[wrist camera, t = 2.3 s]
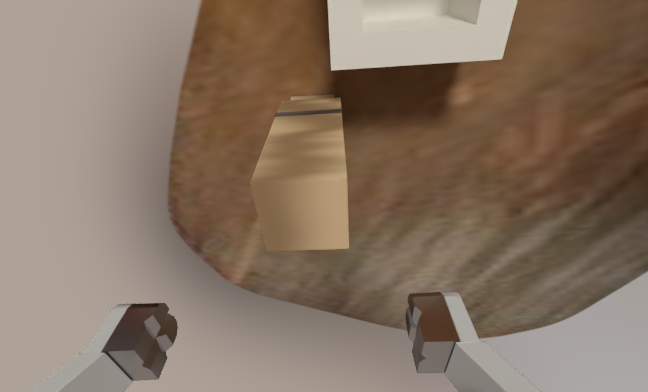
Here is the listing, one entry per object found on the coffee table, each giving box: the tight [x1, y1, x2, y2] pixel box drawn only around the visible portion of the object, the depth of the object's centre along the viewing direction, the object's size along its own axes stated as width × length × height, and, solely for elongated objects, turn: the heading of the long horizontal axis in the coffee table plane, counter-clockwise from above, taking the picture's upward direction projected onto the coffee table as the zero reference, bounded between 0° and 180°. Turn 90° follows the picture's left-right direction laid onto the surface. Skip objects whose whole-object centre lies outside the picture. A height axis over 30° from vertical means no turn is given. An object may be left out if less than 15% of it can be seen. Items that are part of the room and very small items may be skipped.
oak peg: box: [250, 94, 349, 251], centre depth 18 cm, size 4×4×12 cm
